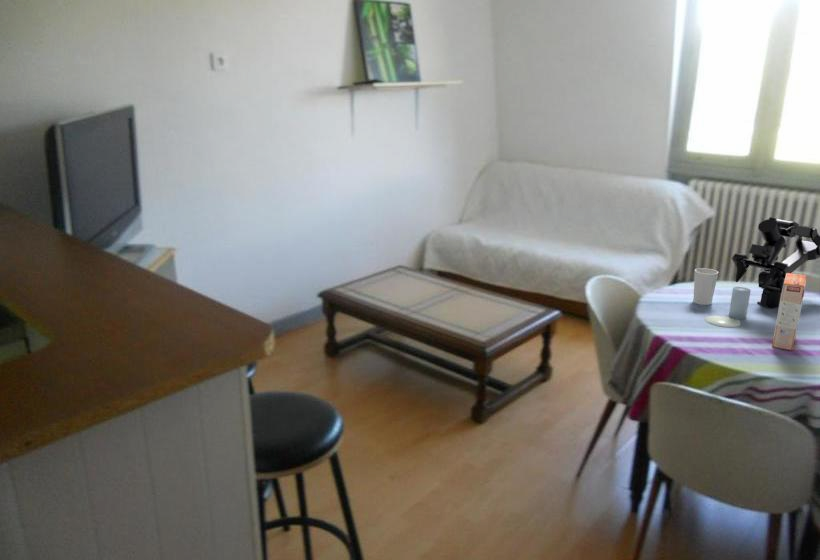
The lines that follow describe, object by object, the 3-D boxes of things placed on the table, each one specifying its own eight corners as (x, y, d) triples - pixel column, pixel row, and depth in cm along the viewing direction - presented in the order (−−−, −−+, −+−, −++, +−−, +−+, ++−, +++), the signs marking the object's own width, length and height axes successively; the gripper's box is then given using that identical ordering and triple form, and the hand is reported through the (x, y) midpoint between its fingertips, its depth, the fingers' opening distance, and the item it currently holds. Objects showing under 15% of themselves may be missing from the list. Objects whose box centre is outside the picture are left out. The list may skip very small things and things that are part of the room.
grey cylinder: (737, 313, 232) (741, 286, 229) (749, 318, 227) (754, 290, 224) (725, 314, 230) (729, 287, 227) (737, 320, 225) (741, 292, 222)
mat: (723, 314, 230) (723, 314, 230) (747, 325, 220) (748, 324, 220) (697, 318, 227) (697, 317, 227) (721, 328, 217) (721, 328, 217)
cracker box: (793, 351, 198) (805, 285, 192) (771, 347, 201) (782, 282, 195) (796, 337, 210) (807, 274, 204) (774, 333, 213) (785, 271, 207)
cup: (709, 299, 247) (714, 268, 243) (717, 306, 239) (721, 274, 236) (687, 298, 247) (691, 267, 244) (694, 305, 240) (698, 273, 236)
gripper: (738, 230, 233) (716, 265, 230) (792, 240, 218) (769, 277, 215) (747, 249, 239) (726, 283, 237) (800, 260, 224) (777, 296, 222)
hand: (748, 284), depth 227 cm, fingers open, 9 cm apart
